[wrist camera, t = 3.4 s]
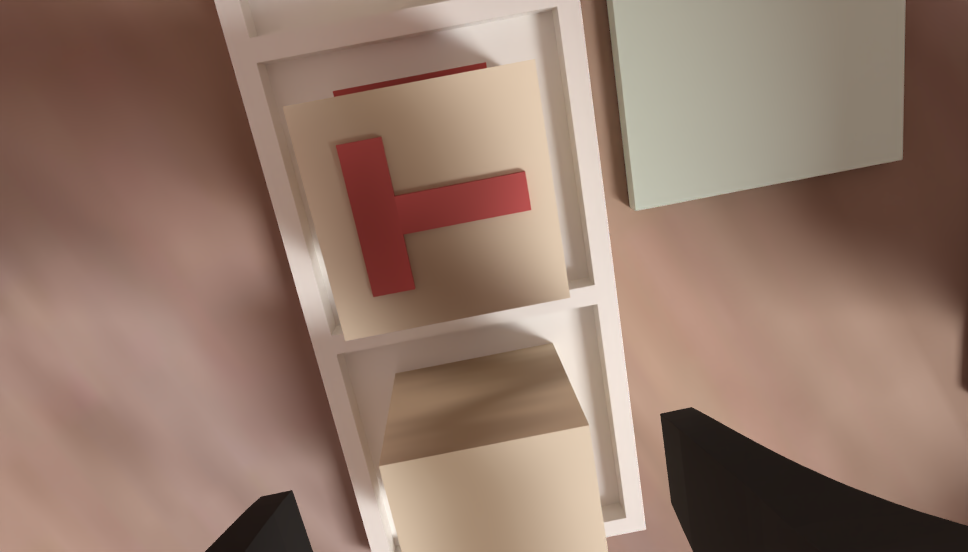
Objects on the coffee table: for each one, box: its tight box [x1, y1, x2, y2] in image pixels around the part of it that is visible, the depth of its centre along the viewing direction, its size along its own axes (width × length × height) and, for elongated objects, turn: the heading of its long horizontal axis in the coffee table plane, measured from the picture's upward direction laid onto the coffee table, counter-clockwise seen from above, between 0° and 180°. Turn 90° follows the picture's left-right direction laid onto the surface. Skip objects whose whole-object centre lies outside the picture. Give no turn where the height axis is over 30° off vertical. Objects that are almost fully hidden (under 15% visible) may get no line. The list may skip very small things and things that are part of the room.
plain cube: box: [379, 343, 608, 552], centre depth 17 cm, size 5×5×5 cm
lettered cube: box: [283, 59, 570, 341], centre depth 15 cm, size 5×5×5 cm
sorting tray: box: [214, 0, 646, 552], centre depth 17 cm, size 9×25×1 cm, turn 10°
